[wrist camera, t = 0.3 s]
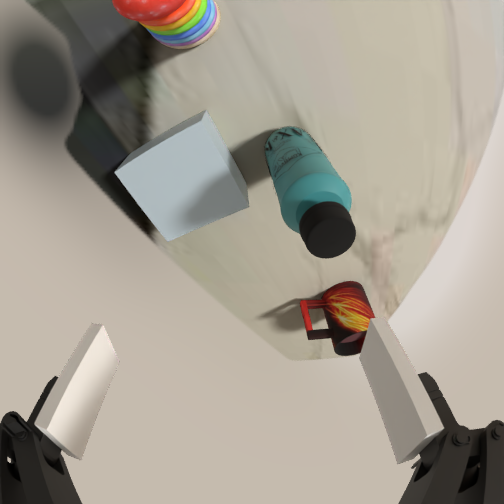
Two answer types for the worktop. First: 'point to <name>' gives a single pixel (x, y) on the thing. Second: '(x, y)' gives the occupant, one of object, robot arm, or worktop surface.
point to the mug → (341, 317)
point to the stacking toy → (174, 19)
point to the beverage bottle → (310, 192)
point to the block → (185, 178)
